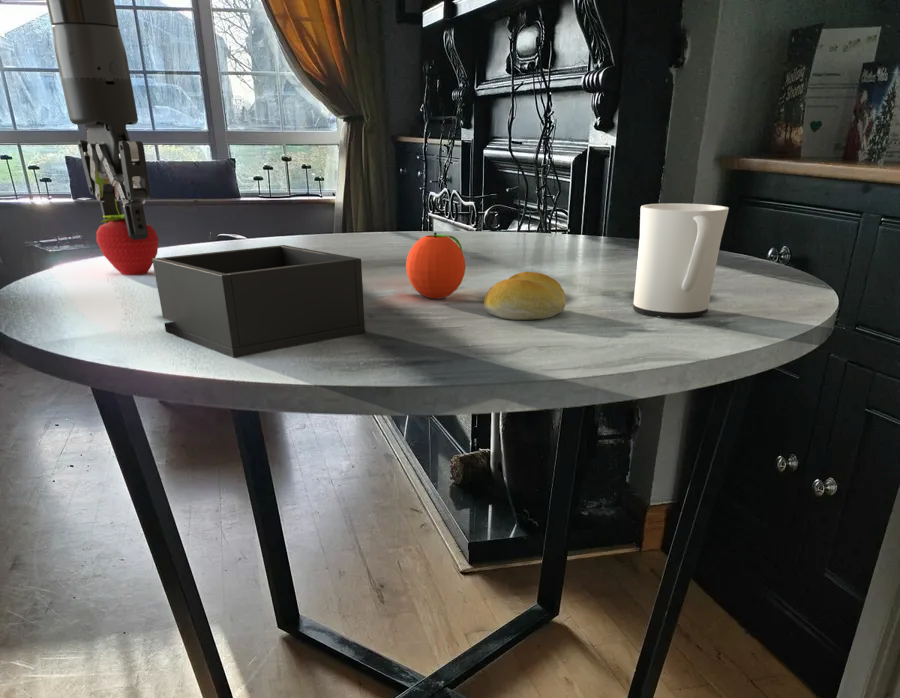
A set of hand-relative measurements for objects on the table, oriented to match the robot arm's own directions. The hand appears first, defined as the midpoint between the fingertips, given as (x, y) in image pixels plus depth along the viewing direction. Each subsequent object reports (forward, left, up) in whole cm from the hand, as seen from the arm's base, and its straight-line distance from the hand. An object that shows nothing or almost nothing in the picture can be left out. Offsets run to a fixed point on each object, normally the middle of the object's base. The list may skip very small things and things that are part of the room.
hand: (127, 235), depth 97 cm
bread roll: (+24, -46, -6) cm, 52 cm away
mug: (+36, -57, -6) cm, 68 cm away
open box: (-2, -35, -6) cm, 36 cm away
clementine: (+23, -33, -6) cm, 41 cm away
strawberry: (0, 0, -6) cm, 6 cm away
